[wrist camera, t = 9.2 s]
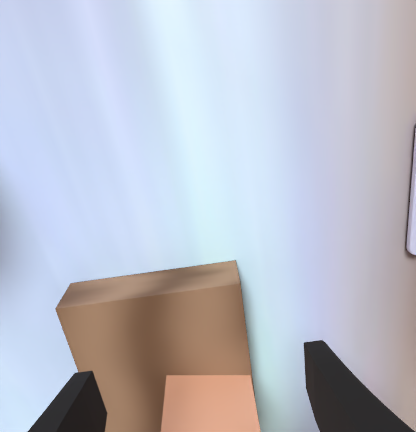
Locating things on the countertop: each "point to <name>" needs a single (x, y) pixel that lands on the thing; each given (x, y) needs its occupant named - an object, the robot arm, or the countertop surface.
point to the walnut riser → (154, 335)
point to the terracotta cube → (209, 404)
